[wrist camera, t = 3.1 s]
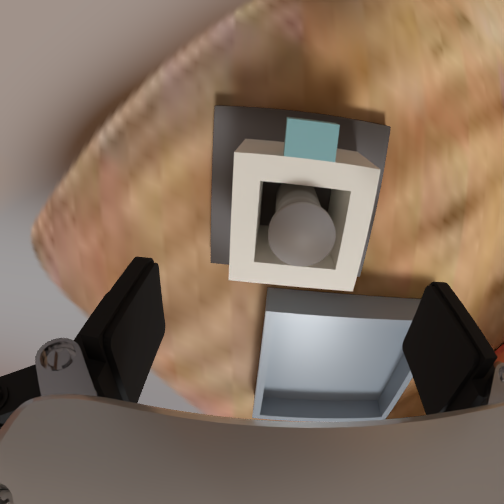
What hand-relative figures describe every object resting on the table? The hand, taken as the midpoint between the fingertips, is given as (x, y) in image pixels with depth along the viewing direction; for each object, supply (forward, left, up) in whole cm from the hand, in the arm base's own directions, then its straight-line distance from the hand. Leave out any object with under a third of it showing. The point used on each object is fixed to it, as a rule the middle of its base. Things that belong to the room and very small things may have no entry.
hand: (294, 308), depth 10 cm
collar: (0, +1, -11) cm, 11 cm away
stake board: (0, +1, -12) cm, 12 cm away
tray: (+15, +7, -12) cm, 20 cm away
